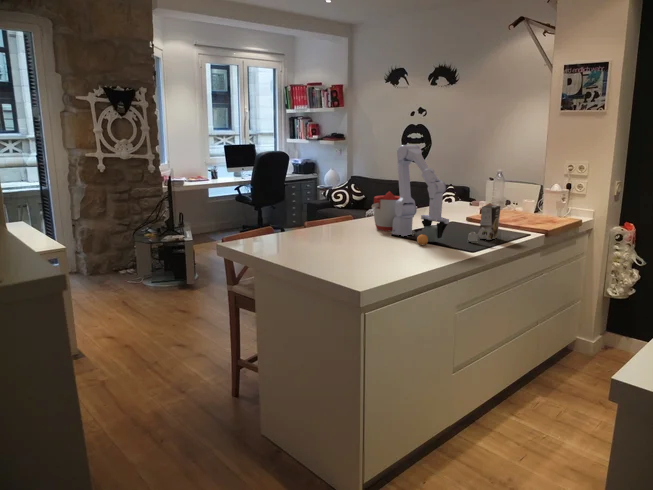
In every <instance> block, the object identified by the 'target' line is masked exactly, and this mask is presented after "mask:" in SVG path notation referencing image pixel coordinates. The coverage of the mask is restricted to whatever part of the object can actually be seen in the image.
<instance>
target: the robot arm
mask: <svg viewBox="0 0 653 490" xmlns="http://www.w3.org/2000/svg"><path fill="white" fill-rule="evenodd" d="M422 153H423V152H422V149H421V147H420V145H418V144H408V145H407V144H401V145H400V146H399V147H398V148H397V150H396V156H397V174H398V175H397V176H398V189H399V190H398V191H399V196H400V198H399V199H398V200H397V201H396V207H395V214H396V215H397V216H396V217H395V218H394V220H393V230H392V231H391V235H396V236H399V235H401V236H400V237H404V236H407V235H410V234H412V233H413V219H414V217H415V215H416V214H417V210H418V209H417V206H416V201H415V199H414V198H413V197H412V195H411V194H412V193H411V191H412V190H411V180H410V177H411V175H410V164H412V162H414V163H415V164H416V166H417V167H418V169H419V170H420V171H421V177H422V178H423V180H424V182H425V184H426V185H427V193H428V197H429V207H428V214H422V215H420V220H421V224H422V226H423V228H424V229H423V230H425V226H430V225H433V222H437V223H436V226H437V229H438V235H437V236H438V238H442V234H443V232H445V230H446V227H447V226H448V224H450V218H446V217H442V214H443V213H442V211H443V210H442V209H443V199H444V198H443V197H444V195H443V194H444V193H445V192H446V191H447V185H446V182H445V181H444V180H443V181H442V180H441V179H440V178H439V177H438V175H437V174H436V172H435V170H434V169H433V168H429V166H428V164H427V162H426V160H425V159H424V156H423V155H422ZM443 235H444V234H443ZM407 237H408V236H407Z"/></svg>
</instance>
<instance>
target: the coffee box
mask: <svg viewBox="0 0 653 490" xmlns="http://www.w3.org/2000/svg"><path fill="white" fill-rule="evenodd" d="M500 213H501V206H500V205H494V204H493V205H491V204H487V205H484V206H481V213H480V224H479V230H480V229H481V228H482V227H483V228H484V229H485V230H484V231H483V233H482V234H481V236H478V238H479V237H480V238H487V239H493V238H495V237H497V236H499V235H498V234H499V224H500V217H501V215H500Z"/></svg>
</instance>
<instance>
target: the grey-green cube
mask: <svg viewBox="0 0 653 490" xmlns="http://www.w3.org/2000/svg"><path fill="white" fill-rule="evenodd" d="M444 232H445V231H444ZM444 232H443V234H442V238H438V236H437V235H438V229H437V224H431V225H430V226H425V229H424V232H423V234H424V235H426V236H427V237H428V241H431V242H440V241H443V240H444Z"/></svg>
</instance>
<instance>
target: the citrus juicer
mask: <svg viewBox="0 0 653 490" xmlns="http://www.w3.org/2000/svg"><path fill="white" fill-rule="evenodd" d="M399 198H400V195H394V194H393V193H392V192H391V191H390V190H389V191H388V192H386V193H385V195H376V196H374V197H373V204H371V209H373V219H374V220H373V221H374V225H375V228H376V229H377V230H379V231H380V230H381V231H384V232H389V231H390V232H392V230H393V220H394V218H395V217H396V216H397V215H396V214H395V207H396V201H397V200H398V199H399Z"/></svg>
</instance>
